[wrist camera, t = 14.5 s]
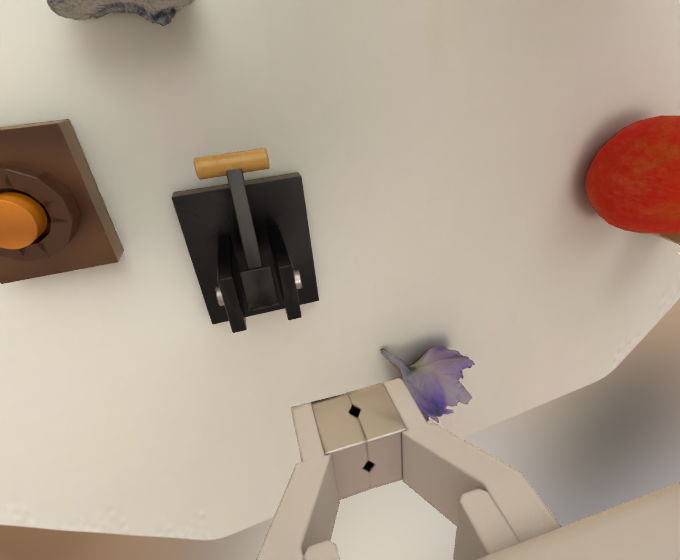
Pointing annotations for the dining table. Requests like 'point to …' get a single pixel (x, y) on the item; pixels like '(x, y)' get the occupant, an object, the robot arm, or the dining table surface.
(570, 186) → the dining table surface
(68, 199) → the button block
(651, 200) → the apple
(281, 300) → the switch bracket
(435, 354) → the flower
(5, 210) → the button
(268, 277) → the switch lever
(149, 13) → the grey rock
